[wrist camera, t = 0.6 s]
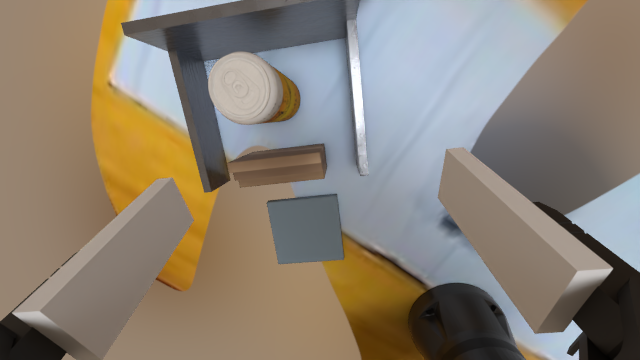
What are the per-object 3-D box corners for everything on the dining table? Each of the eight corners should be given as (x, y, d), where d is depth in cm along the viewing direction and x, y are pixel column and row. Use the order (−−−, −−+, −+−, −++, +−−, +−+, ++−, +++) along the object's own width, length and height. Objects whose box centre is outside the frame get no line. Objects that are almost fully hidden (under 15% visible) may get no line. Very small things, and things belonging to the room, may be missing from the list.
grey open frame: (363, 165, 36) (375, 189, 25) (224, 180, 39) (175, 209, 27) (352, 28, 32) (359, -22, 20) (194, 54, 34) (121, 23, 22)
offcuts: (326, 167, 37) (323, 182, 28) (257, 174, 38) (233, 192, 29) (324, 143, 36) (319, 152, 27) (252, 152, 37) (226, 163, 28)
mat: (343, 256, 40) (344, 259, 40) (279, 260, 42) (278, 264, 41) (336, 193, 38) (336, 195, 37) (268, 200, 39) (266, 202, 38)
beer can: (279, 129, 36) (240, 139, 21) (250, 97, 35) (189, 85, 21) (309, 100, 34) (289, 90, 20) (280, 66, 34) (236, 30, 19)
